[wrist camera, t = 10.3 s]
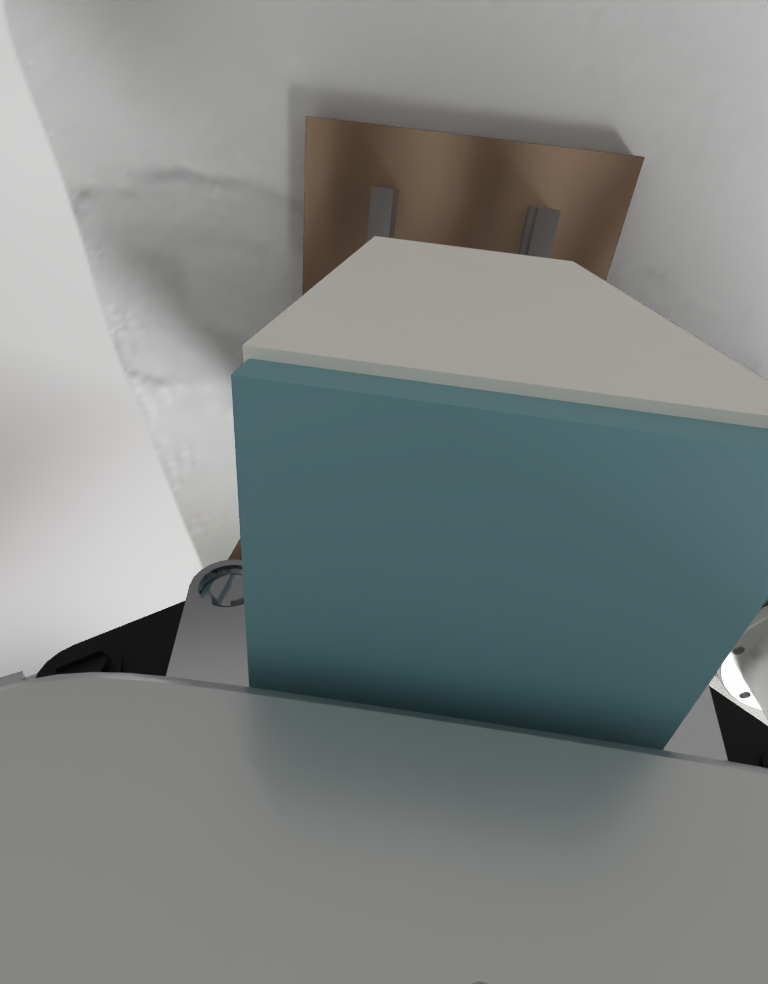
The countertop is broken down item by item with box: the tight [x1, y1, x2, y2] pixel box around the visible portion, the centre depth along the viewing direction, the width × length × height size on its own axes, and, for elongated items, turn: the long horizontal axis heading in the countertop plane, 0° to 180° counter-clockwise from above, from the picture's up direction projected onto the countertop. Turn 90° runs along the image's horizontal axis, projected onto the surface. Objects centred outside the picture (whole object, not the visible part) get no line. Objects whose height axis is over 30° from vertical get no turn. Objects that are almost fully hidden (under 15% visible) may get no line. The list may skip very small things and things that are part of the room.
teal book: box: [231, 236, 768, 750], centre depth 11 cm, size 5×11×10 cm, turn 174°
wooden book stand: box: [228, 116, 644, 560], centre depth 23 cm, size 16×18×16 cm
